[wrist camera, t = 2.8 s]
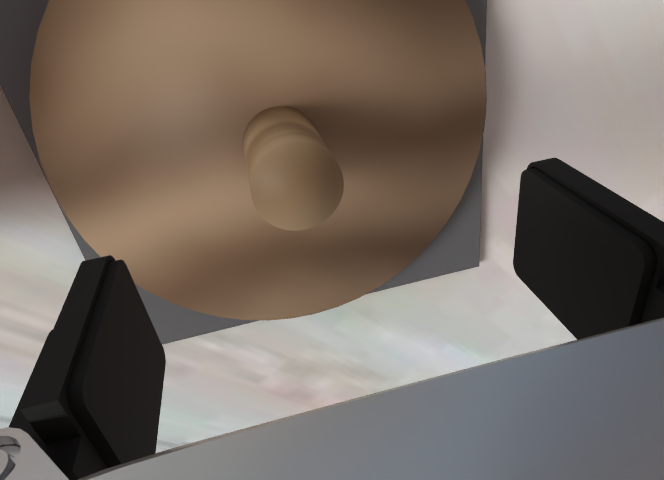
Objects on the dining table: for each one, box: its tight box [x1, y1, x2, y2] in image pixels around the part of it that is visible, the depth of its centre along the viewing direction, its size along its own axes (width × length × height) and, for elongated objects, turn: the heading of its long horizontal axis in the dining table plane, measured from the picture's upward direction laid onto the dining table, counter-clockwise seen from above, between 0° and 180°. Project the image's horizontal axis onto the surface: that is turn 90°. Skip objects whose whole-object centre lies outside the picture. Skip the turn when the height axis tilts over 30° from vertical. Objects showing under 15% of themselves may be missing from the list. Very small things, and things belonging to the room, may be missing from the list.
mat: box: [0, 0, 487, 344], centre depth 22 cm, size 20×20×1 cm
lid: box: [29, 0, 486, 320], centre depth 19 cm, size 19×19×6 cm
